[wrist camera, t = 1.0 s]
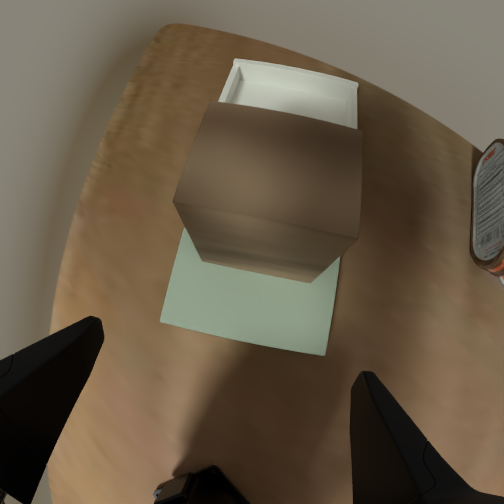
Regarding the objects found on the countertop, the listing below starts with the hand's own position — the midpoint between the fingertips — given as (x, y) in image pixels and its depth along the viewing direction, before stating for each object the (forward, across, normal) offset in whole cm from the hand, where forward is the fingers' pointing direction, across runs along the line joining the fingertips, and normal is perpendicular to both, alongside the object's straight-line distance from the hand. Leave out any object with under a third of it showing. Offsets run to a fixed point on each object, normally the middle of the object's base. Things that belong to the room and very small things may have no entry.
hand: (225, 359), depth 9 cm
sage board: (+16, 0, +2) cm, 17 cm away
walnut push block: (+14, 0, +2) cm, 14 cm away
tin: (+21, -23, -2) cm, 32 cm away
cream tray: (+25, -1, -7) cm, 26 cm away
